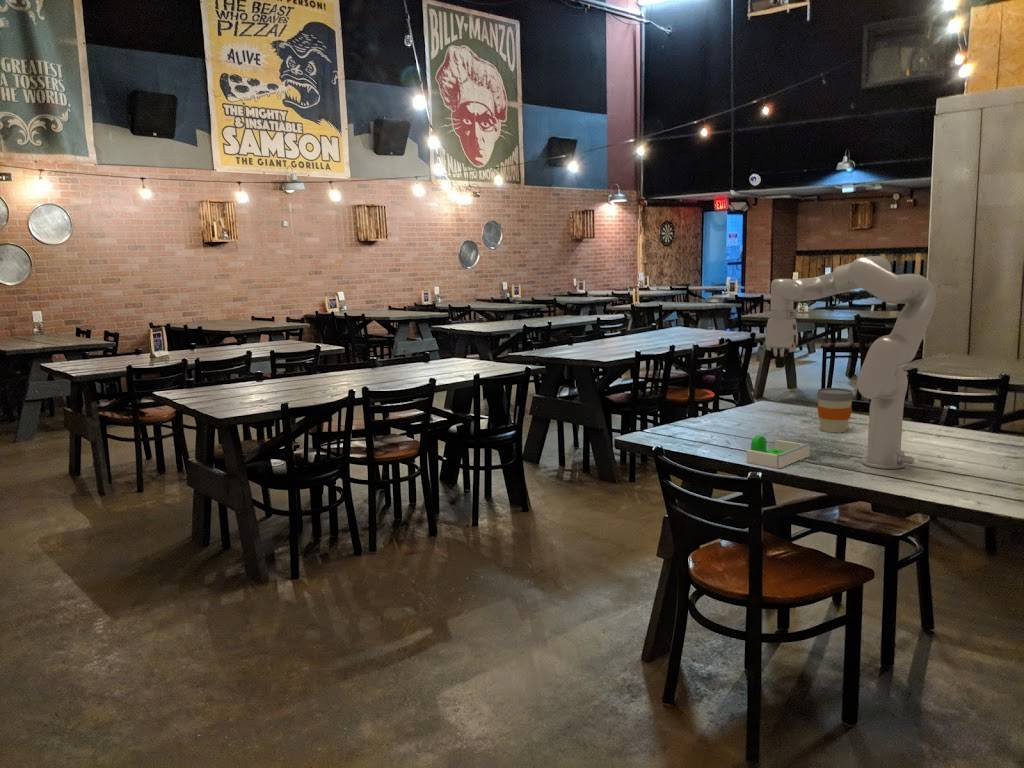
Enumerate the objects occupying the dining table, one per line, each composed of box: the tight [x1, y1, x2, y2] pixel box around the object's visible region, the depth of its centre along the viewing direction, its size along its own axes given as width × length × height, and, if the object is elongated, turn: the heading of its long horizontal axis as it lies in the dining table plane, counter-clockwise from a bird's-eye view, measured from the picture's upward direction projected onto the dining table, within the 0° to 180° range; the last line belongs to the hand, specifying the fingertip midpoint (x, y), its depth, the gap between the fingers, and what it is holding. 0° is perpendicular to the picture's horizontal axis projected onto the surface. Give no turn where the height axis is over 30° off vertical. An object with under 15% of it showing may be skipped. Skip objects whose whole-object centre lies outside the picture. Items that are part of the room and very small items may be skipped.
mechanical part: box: [750, 435, 784, 455], centre depth 259 cm, size 12×6×8 cm, turn 127°
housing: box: [746, 439, 811, 469], centre depth 257 cm, size 12×19×4 cm, turn 134°
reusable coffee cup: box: [816, 387, 854, 433], centre depth 294 cm, size 13×13×15 cm
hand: (780, 367), depth 274 cm, fingers closed
